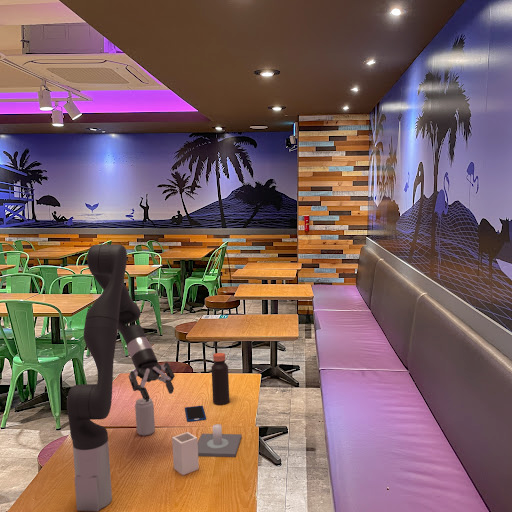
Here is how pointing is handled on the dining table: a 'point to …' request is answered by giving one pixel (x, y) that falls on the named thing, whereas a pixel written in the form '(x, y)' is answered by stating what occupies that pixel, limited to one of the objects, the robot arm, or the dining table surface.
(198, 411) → the cell phone
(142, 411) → the beverage can
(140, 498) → the dining table surface
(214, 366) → the bottle
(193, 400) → the dining table surface
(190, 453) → the sleeve
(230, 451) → the post plate
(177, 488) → the dining table surface
